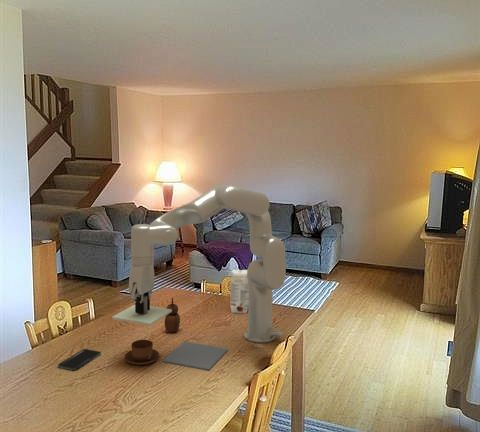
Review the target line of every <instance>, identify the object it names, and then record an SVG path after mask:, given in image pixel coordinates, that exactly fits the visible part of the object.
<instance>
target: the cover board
mask: <svg viewBox="0 0 480 432" xmlns="http://www.w3.org/2000/svg"><path fill="white" fill-rule="evenodd" d="M138 297H140V296H138ZM143 302H144V314H139V313H136V312H135V304H133V305H131V306H129V307H127V308H126V309H124V310H122V311H120V312H118V313H116V314H114V315H113V316H111V320H115V321H119V322H126V323H127V322H128V323H132V324H137V325H138V324H139V325H145V326H153V325H154V324H155V323H157V322H158V321H160V320H161V319H164V318H165V317H166V315H168V314H169V313H171V312H172V309H167V308H164V307H159V306H158V307H157V306H151V305H150V310H147V296H146V295H143Z"/></svg>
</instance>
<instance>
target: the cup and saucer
mask: <svg viewBox="0 0 480 432" xmlns="http://www.w3.org/2000/svg"><path fill="white" fill-rule="evenodd" d="M153 346H154V345H153V341H152V340H149V339H138V340H133V342H132V343H131V350H129V351H128V352H126V353H125V355H124V359H125V360H126V361H127V362H128V363H129V364H132V365H137V366H138V365H139V366H142V365H144V366H145V365H149V364H152V363H155V361H157V360H158V359H159V358H160V352H159V351H158V350H156V349H153V348H154V347H153Z"/></svg>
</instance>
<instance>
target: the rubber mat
mask: <svg viewBox="0 0 480 432" xmlns="http://www.w3.org/2000/svg"><path fill="white" fill-rule="evenodd" d="M228 351H229V348H226V347H225V348H224V347H219V346H214V345H213V346H212V345H208V344H203V343H202V344H201V343H196V342H191V341H183V342H182V343H181V344H180V345H179V346H178V347H176V348H175V349H174V350H173V351H172V352H170V353H169V354H167V356H166V357H164V358H163V359H162V361H161V362H162V363H167V364H171V365H177V366H181V367H187V368H193V369H196V370H197V369H198V370H203V371H208V372H209V371H211V370H212V368H214V367H215V365H217V363H218V362H219V361H220V360H221V359H222V358H223V356H225V354H227V352H228Z"/></svg>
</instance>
